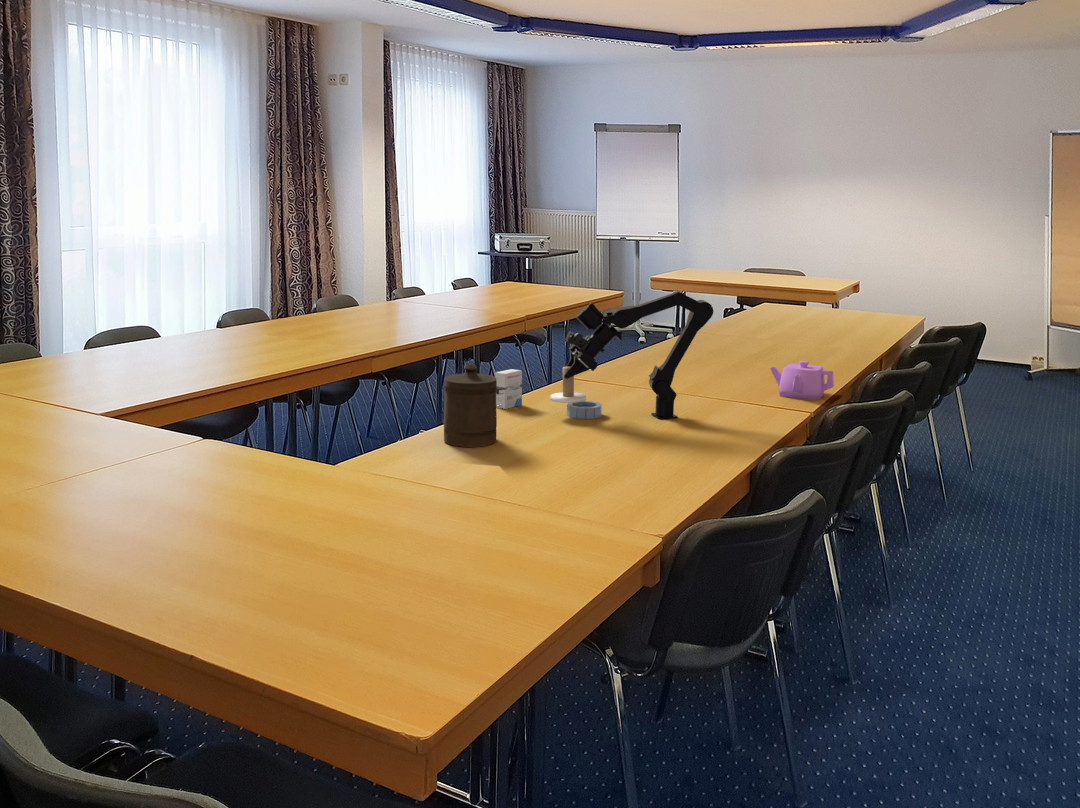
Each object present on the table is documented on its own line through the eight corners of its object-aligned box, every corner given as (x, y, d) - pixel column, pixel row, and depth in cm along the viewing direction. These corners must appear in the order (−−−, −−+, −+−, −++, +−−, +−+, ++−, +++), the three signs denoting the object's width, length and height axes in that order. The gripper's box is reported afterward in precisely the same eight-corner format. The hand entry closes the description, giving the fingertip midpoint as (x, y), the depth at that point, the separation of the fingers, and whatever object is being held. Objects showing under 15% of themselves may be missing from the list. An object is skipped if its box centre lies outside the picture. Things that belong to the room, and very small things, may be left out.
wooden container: (502, 436, 276) (502, 361, 271) (488, 449, 261) (489, 370, 257) (452, 432, 279) (452, 358, 274) (437, 445, 264) (436, 367, 260)
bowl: (606, 418, 299) (606, 407, 298) (573, 419, 296) (573, 408, 295) (594, 410, 309) (594, 399, 308) (562, 412, 306) (563, 401, 305)
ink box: (511, 403, 318) (511, 368, 316) (522, 405, 315) (522, 370, 313) (494, 407, 312) (494, 371, 309) (505, 409, 309) (505, 373, 306)
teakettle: (836, 399, 331) (839, 364, 328) (793, 402, 326) (796, 366, 323) (808, 389, 347) (810, 356, 344) (767, 392, 342) (769, 358, 339)
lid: (591, 401, 295) (591, 369, 293) (557, 404, 292) (556, 371, 290) (579, 394, 305) (579, 363, 303) (545, 396, 302) (545, 365, 300)
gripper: (575, 318, 303) (541, 354, 304) (586, 326, 285) (550, 364, 286) (599, 342, 306) (565, 377, 307) (612, 352, 288) (576, 389, 289)
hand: (563, 376), depth 297 cm, fingers closed on lid, 3 cm apart
